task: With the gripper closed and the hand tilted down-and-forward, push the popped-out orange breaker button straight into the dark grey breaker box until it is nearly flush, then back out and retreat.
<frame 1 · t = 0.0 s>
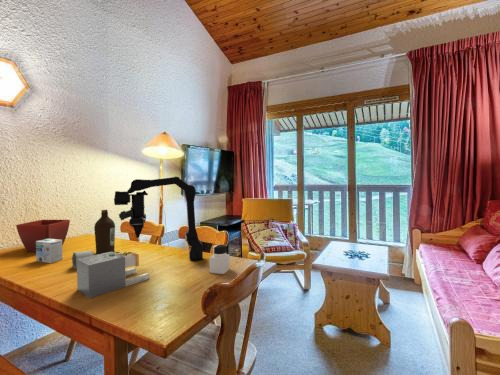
hand: (138, 235, 128), 15 cm above the table, tool pointing down, fingers open, 9 cm apart
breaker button: (122, 262, 107), point 8 cm above the table, slide at 0.0 cm
breaker box: (136, 277, 112), on the table
plant pot: (45, 249, 159), on the table
light bulb box: (49, 260, 136), on the table
medicine bottle: (219, 271, 119), on the table
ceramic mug: (82, 266, 127), on the table
olive oil: (105, 252, 151), on the table
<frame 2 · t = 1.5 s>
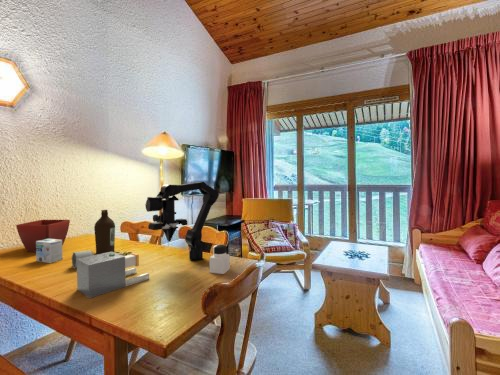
hand: (169, 241, 127), 12 cm above the table, tool pointing down, fingers closed
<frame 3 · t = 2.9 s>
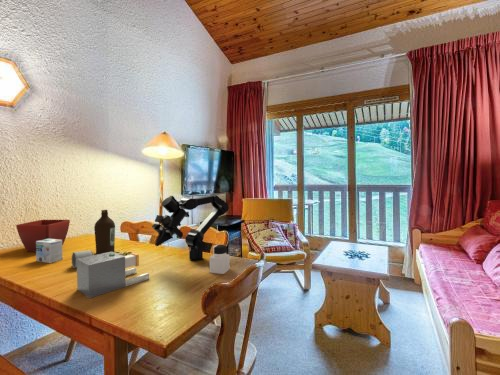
hand: (156, 245, 119), 12 cm above the table, tool tilted 45°, fingers closed
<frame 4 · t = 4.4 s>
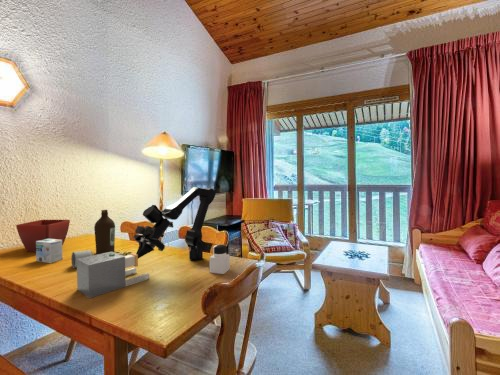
hand: (135, 258, 111), 8 cm above the table, tool tilted 45°, fingers closed, pressing on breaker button
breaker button: (121, 262, 106), point 8 cm above the table, slide at 0.4 cm, touching gripper
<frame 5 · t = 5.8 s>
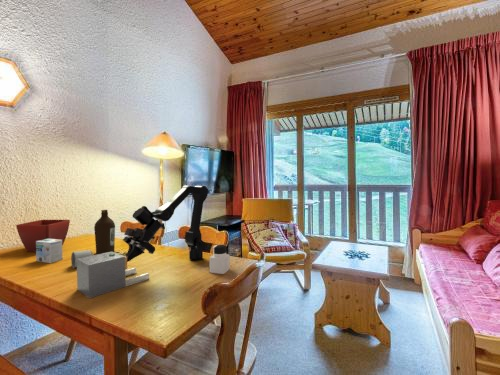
hand: (125, 261, 108), 8 cm above the table, tool tilted 45°, fingers closed, pressing on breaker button
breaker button: (109, 265, 103), point 8 cm above the table, slide at 5.0 cm, touching gripper
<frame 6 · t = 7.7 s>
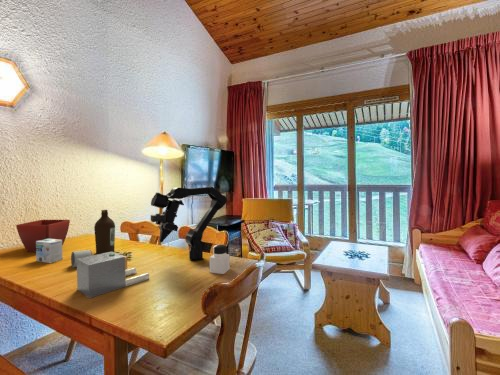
hand: (160, 242, 125), 12 cm above the table, tool tilted 20°, fingers closed
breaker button: (109, 265, 103), point 8 cm above the table, slide at 5.0 cm
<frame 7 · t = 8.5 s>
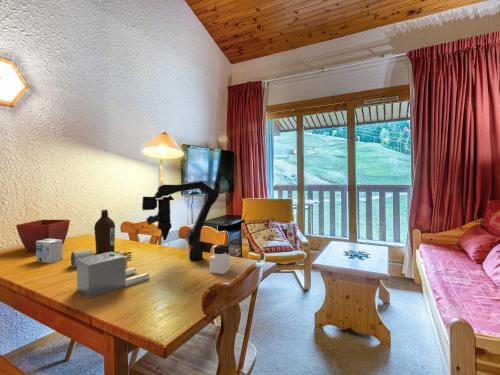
hand: (164, 239, 130), 12 cm above the table, tool pointing down, fingers closed
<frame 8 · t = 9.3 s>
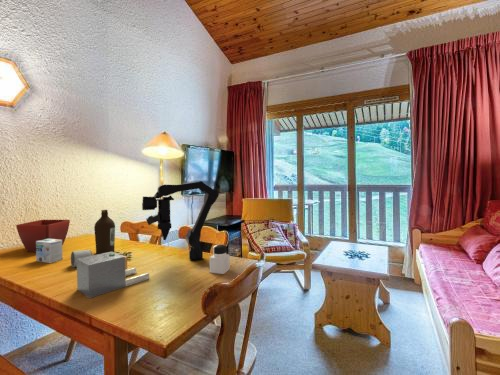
hand: (164, 239, 130), 12 cm above the table, tool pointing down, fingers closed
at the end: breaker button slide at 5.0 cm; medicine bottle moved 0.2 cm from its start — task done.
